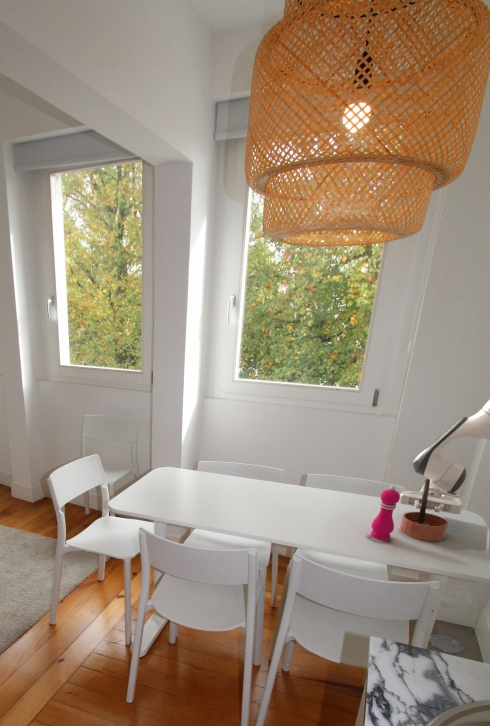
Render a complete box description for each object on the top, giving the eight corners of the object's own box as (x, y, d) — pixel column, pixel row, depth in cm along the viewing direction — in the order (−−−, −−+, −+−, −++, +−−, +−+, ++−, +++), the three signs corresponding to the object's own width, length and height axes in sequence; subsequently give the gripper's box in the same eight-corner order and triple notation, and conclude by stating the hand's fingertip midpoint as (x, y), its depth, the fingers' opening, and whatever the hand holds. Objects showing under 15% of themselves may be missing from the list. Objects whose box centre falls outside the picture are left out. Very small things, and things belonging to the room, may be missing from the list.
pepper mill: (389, 544, 164) (403, 491, 156) (367, 538, 167) (380, 486, 159) (391, 536, 170) (405, 484, 161) (370, 531, 173) (383, 480, 165)
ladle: (430, 529, 173) (438, 478, 169) (425, 532, 170) (433, 480, 165) (414, 526, 178) (422, 476, 173) (408, 529, 174) (416, 478, 169)
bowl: (445, 532, 174) (449, 517, 172) (442, 546, 163) (446, 530, 161) (402, 523, 182) (406, 509, 179) (396, 535, 170) (400, 520, 168)
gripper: (403, 484, 183) (397, 494, 172) (464, 495, 172) (462, 505, 161) (399, 499, 185) (394, 510, 174) (460, 511, 174) (458, 522, 164)
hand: (427, 508), depth 168 cm, fingers open, 4 cm apart
